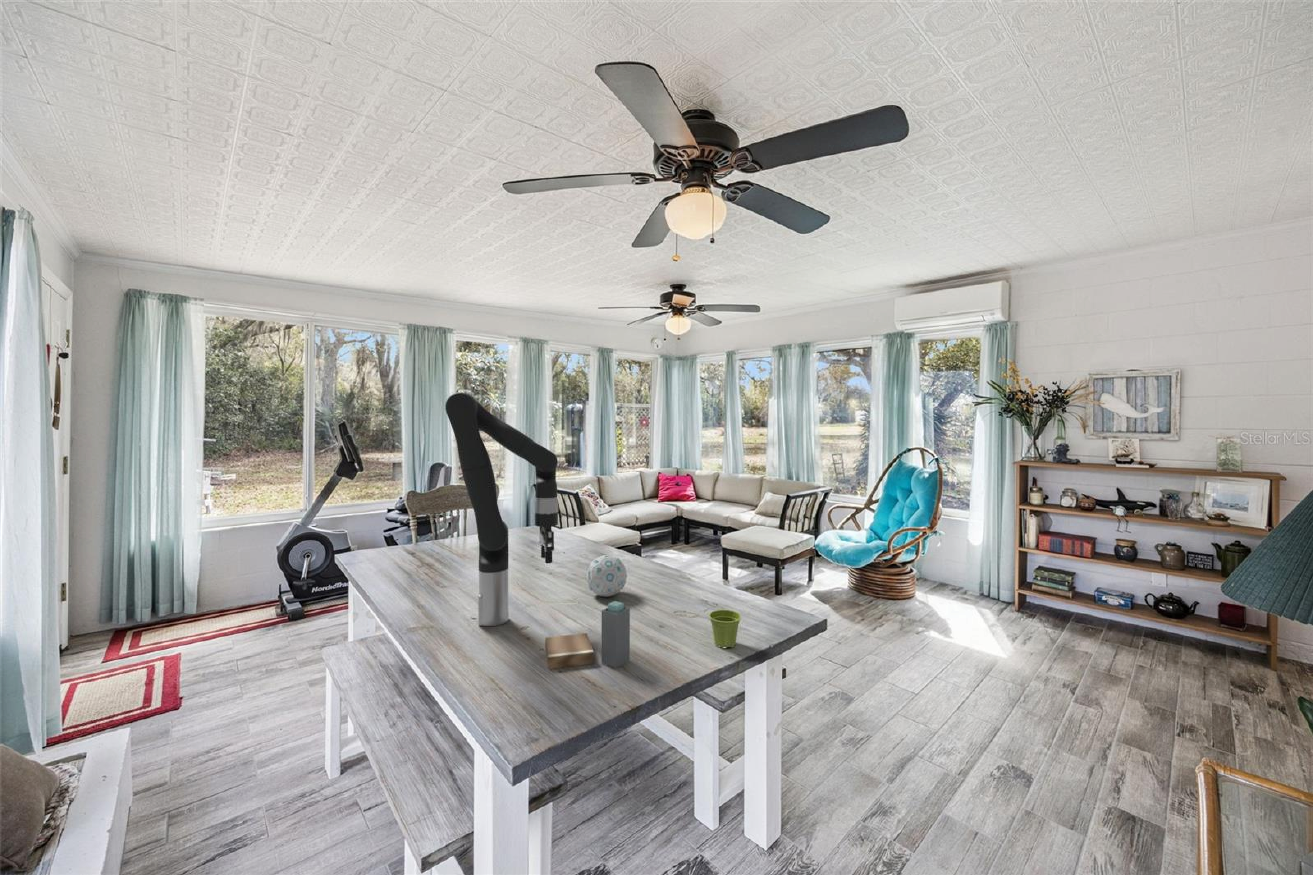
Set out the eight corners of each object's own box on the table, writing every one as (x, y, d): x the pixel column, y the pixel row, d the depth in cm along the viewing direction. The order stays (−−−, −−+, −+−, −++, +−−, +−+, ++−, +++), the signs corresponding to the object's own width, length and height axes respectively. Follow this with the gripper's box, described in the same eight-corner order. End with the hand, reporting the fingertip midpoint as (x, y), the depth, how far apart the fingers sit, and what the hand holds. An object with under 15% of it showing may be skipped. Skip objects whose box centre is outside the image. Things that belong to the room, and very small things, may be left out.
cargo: (614, 611, 141) (614, 600, 141) (623, 613, 140) (623, 603, 140) (607, 615, 139) (607, 604, 139) (616, 617, 137) (616, 606, 137)
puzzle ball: (579, 599, 188) (579, 558, 188) (598, 586, 202) (598, 549, 202) (616, 604, 183) (616, 563, 182) (633, 591, 197) (633, 552, 196)
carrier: (615, 655, 144) (615, 603, 143) (629, 659, 141) (629, 607, 140) (601, 663, 139) (601, 610, 138) (615, 668, 136) (616, 614, 135)
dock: (548, 668, 135) (548, 657, 135) (545, 647, 148) (545, 636, 148) (593, 663, 138) (593, 651, 138) (586, 643, 151) (586, 632, 151)
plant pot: (733, 654, 144) (733, 624, 144) (703, 646, 149) (703, 617, 149) (745, 642, 152) (746, 613, 152) (717, 635, 157) (717, 607, 157)
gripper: (531, 509, 174) (532, 557, 174) (538, 514, 161) (538, 566, 161) (554, 508, 177) (554, 555, 177) (561, 513, 164) (562, 563, 163)
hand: (546, 560), depth 169 cm, fingers open, 8 cm apart
